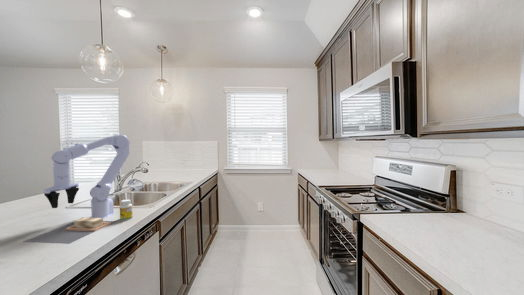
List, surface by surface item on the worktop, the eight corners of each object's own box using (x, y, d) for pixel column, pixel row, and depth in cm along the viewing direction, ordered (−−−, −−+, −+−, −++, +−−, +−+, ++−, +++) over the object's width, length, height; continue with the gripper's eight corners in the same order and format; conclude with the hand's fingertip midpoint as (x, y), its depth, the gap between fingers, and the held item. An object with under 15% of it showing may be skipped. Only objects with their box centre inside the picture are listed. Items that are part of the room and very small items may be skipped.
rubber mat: (79, 221, 113) (79, 220, 113) (116, 222, 110) (116, 221, 110) (23, 242, 89) (23, 241, 89) (69, 244, 86) (69, 243, 86)
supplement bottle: (134, 218, 115) (134, 199, 115) (124, 222, 110) (123, 202, 110) (128, 217, 118) (128, 198, 117) (117, 220, 113) (117, 201, 113)
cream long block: (103, 225, 105) (102, 218, 105) (94, 229, 100) (94, 221, 100) (83, 224, 106) (83, 217, 106) (74, 228, 102) (74, 220, 101)
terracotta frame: (83, 223, 108) (83, 221, 108) (110, 224, 107) (110, 222, 107) (65, 230, 100) (65, 228, 100) (95, 231, 98) (95, 229, 98)
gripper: (69, 174, 114) (70, 201, 114) (37, 178, 99) (38, 209, 100) (81, 174, 113) (82, 201, 113) (51, 179, 99) (52, 210, 99)
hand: (63, 205), depth 107 cm, fingers open, 7 cm apart
